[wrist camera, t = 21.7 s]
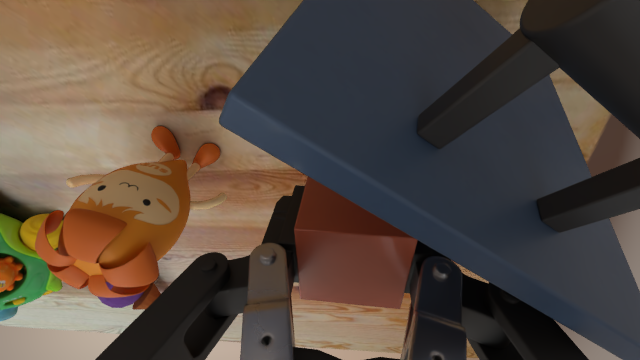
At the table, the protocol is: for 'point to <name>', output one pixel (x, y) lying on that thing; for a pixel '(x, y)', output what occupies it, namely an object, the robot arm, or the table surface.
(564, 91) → the table surface
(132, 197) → the toy figure
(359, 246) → the block
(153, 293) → the purple toy maraca
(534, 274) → the lid
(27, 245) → the turtle toy
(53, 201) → the table surface
